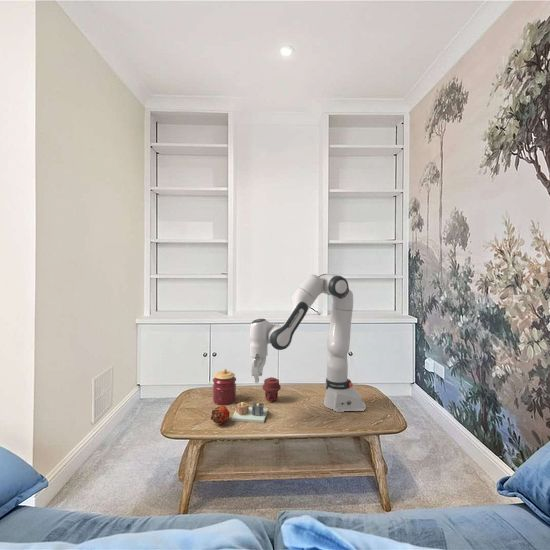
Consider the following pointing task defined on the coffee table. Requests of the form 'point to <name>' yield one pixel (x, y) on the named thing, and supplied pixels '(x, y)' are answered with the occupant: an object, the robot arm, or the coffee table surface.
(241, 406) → the gear board
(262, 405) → the loose gear
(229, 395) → the canister
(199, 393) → the coffee table surface
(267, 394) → the mechanical component
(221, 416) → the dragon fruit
